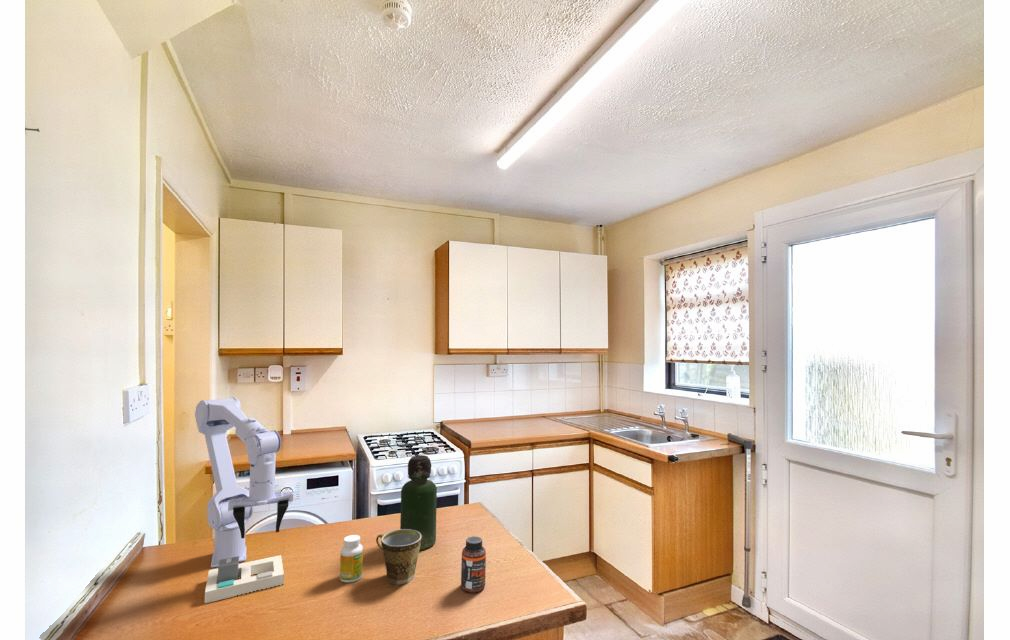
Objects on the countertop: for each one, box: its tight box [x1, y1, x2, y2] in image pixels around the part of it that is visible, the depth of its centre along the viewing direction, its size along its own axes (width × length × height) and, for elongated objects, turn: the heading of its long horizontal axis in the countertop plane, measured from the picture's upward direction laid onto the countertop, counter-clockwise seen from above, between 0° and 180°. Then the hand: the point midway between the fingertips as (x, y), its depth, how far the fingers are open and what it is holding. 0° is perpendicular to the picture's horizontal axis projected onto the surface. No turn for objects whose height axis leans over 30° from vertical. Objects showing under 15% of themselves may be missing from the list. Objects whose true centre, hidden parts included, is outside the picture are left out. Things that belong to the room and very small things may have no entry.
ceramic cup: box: [375, 529, 421, 586], centre depth 112 cm, size 13×10×10 cm
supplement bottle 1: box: [339, 534, 364, 583], centre depth 111 cm, size 5×5×10 cm
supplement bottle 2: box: [460, 536, 487, 594], centre depth 107 cm, size 6×6×11 cm
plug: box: [217, 556, 240, 584], centre depth 106 cm, size 4×4×6 cm
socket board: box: [204, 554, 285, 604], centre depth 108 cm, size 11×16×3 cm
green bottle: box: [399, 454, 438, 551], centre depth 131 cm, size 10×10×25 cm
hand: (260, 533), depth 112 cm, fingers open, 7 cm apart
